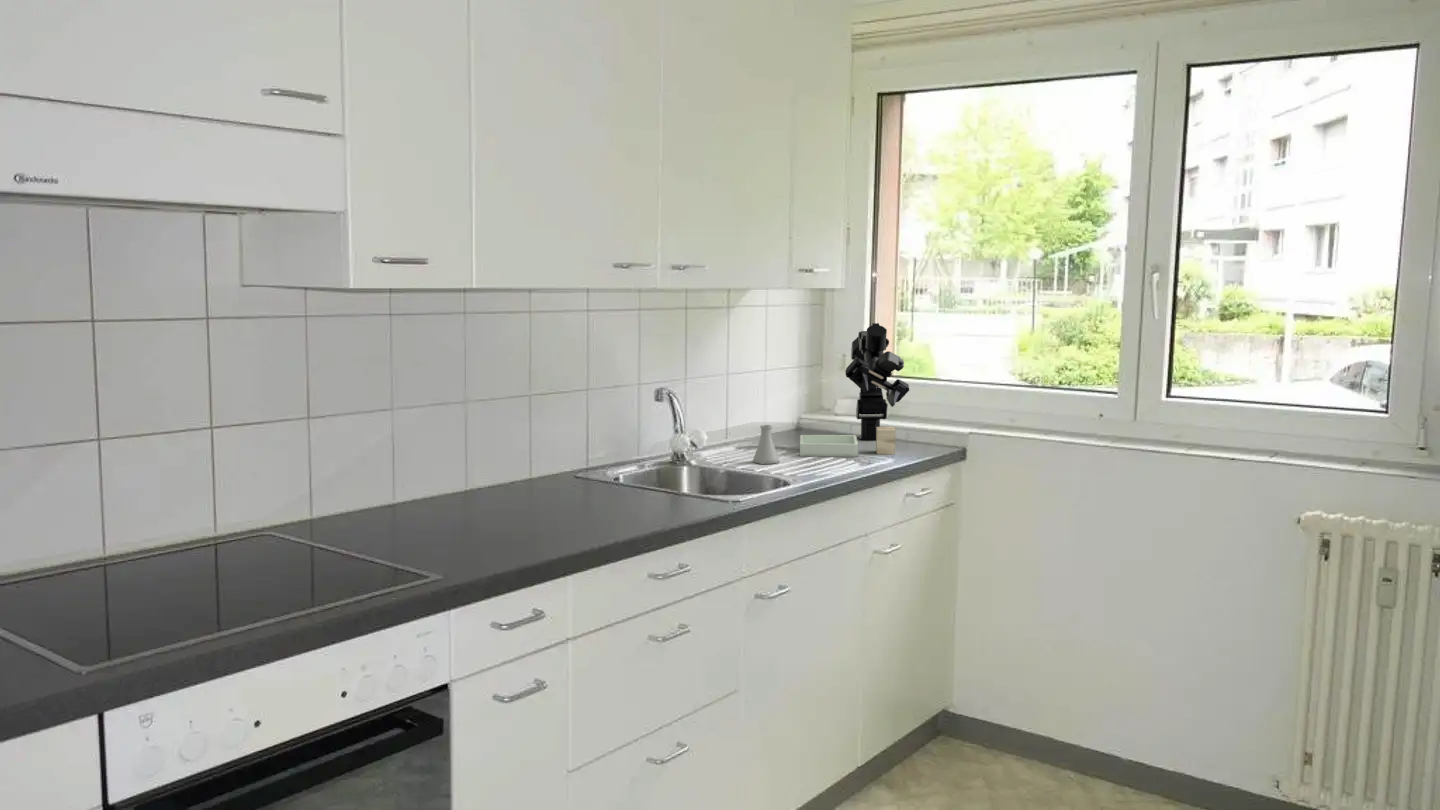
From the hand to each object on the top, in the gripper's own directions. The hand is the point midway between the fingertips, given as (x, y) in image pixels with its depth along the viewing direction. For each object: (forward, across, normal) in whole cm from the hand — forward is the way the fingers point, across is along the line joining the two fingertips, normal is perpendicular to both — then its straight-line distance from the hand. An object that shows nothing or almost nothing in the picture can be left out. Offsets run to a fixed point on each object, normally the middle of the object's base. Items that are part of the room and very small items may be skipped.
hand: (879, 398), depth 313 cm
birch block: (+7, +9, +10) cm, 16 cm away
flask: (+20, -23, +22) cm, 38 cm away
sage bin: (+6, -4, +20) cm, 21 cm away
